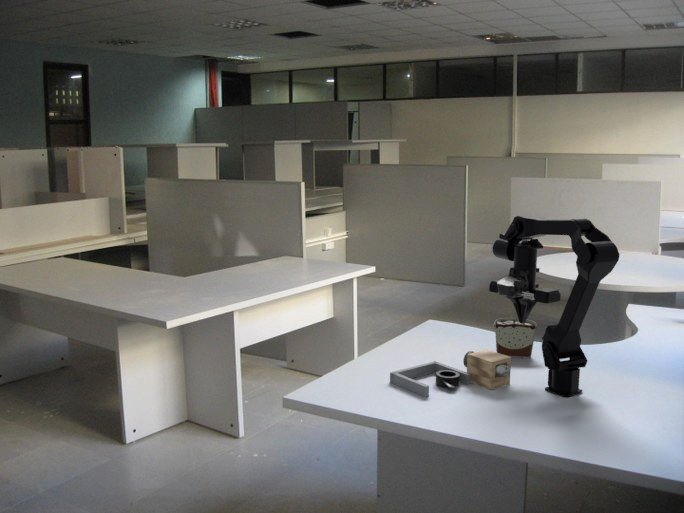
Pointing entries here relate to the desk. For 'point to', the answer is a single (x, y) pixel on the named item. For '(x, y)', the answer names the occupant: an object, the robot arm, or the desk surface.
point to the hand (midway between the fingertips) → (522, 323)
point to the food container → (514, 337)
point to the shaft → (499, 370)
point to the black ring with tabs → (447, 379)
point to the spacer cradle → (406, 375)
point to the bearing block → (487, 368)
